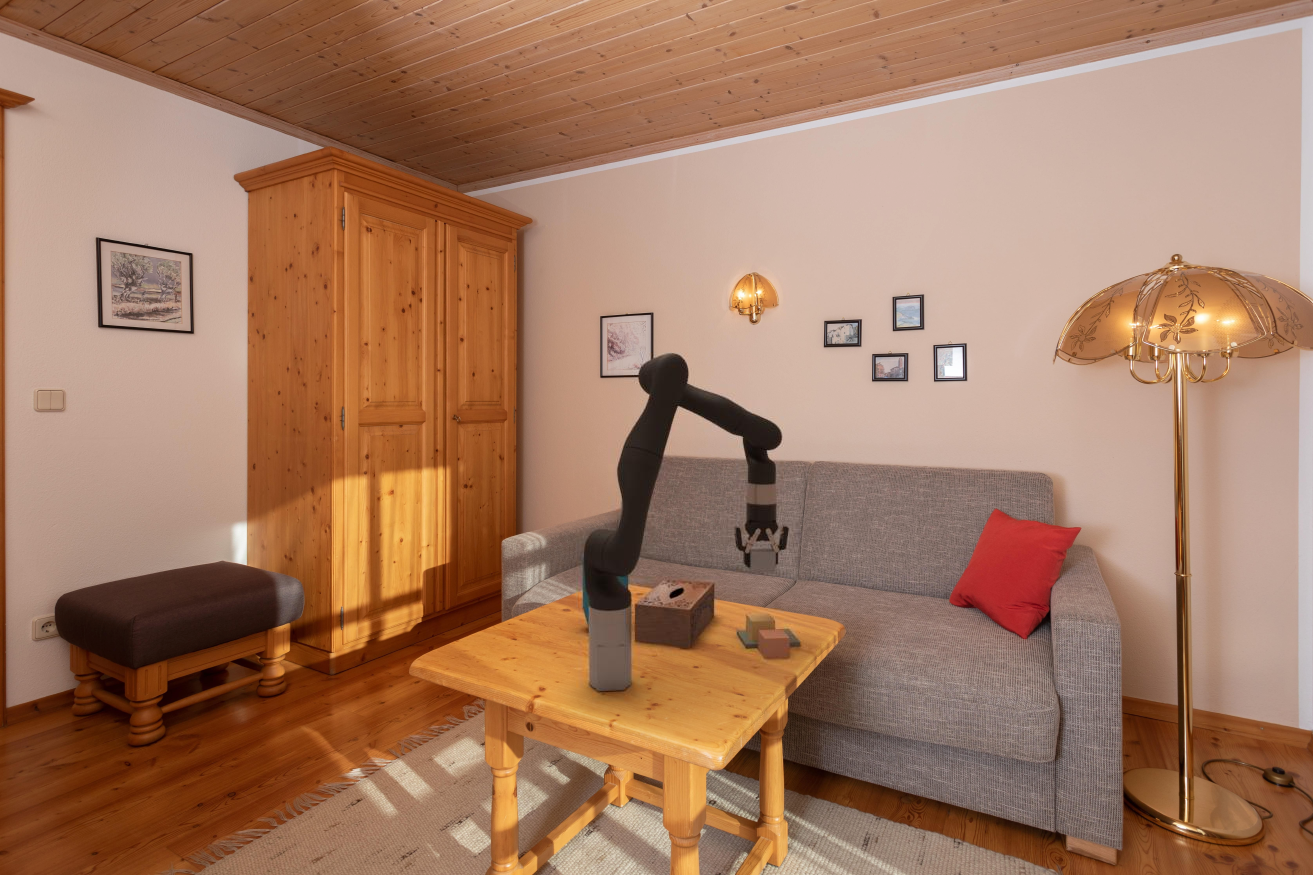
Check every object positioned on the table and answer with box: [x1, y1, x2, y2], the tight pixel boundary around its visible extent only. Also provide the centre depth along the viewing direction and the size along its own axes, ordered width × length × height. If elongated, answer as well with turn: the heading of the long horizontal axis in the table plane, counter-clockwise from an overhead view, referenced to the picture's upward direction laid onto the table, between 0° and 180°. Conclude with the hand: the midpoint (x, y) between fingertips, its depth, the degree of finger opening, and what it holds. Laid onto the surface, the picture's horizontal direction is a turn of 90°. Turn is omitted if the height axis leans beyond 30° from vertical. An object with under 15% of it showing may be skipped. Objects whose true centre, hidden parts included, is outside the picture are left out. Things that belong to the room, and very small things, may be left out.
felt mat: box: [736, 628, 802, 649], centre depth 174 cm, size 10×14×1 cm
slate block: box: [747, 546, 777, 574], centre depth 173 cm, size 6×6×5 cm
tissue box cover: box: [634, 578, 715, 649], centre depth 183 cm, size 26×14×10 cm, turn 162°
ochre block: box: [745, 612, 776, 641], centre depth 174 cm, size 6×6×5 cm
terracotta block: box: [757, 628, 790, 660], centre depth 165 cm, size 6×6×5 cm
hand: (760, 566), depth 173 cm, fingers closed on slate block, 6 cm apart
